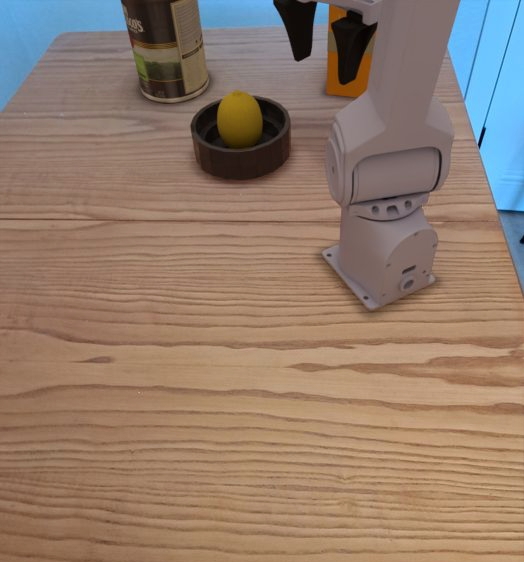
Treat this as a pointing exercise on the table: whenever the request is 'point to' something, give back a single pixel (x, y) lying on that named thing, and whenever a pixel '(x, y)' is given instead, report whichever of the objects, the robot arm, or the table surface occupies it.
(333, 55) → the orange juice
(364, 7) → the robot arm
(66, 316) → the table surface
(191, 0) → the coffee can
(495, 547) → the table surface
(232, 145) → the lemon
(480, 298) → the table surface
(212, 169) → the bowl
